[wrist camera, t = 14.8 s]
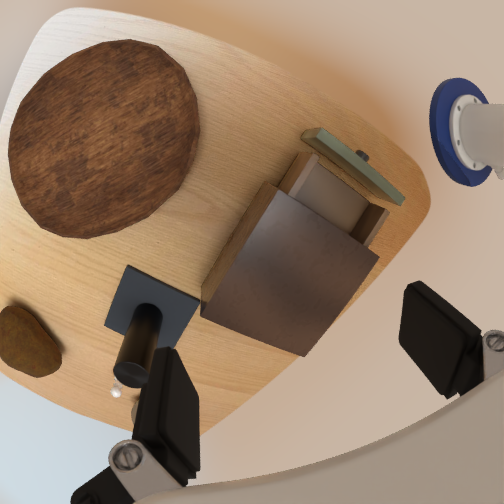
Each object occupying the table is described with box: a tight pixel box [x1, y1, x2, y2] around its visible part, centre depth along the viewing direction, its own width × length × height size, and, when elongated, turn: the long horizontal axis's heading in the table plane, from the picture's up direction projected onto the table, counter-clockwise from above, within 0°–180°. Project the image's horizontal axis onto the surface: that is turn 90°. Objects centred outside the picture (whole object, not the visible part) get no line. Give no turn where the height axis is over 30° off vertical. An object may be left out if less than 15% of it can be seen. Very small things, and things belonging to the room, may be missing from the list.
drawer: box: [278, 128, 405, 248], centre depth 29 cm, size 15×12×5 cm
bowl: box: [8, 39, 200, 239], centre depth 24 cm, size 20×22×5 cm
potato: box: [0, 306, 62, 378], centre depth 29 cm, size 8×12×9 cm
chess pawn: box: [111, 375, 123, 397], centre depth 35 cm, size 3×3×5 cm
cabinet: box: [200, 181, 380, 357], centre depth 31 cm, size 15×14×7 cm
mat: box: [104, 265, 200, 349], centre depth 34 cm, size 10×10×1 cm
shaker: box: [113, 303, 163, 388], centre depth 29 cm, size 4×4×11 cm
